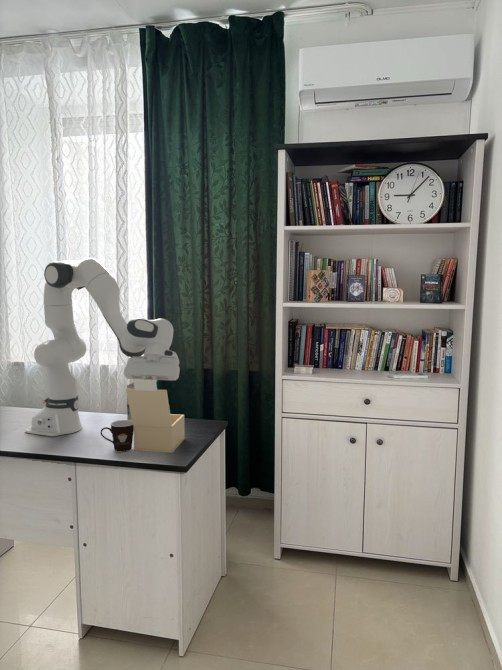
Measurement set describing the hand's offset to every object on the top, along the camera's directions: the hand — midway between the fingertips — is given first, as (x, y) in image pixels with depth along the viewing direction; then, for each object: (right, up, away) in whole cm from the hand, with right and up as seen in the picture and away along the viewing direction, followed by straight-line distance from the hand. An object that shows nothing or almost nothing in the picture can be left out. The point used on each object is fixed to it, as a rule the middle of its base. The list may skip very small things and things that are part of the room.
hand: (147, 388), depth 181 cm
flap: (0, -6, +2) cm, 6 cm away
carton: (+2, -23, +16) cm, 29 cm away
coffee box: (-15, -19, +52) cm, 57 cm away
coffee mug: (-13, -24, +11) cm, 30 cm away
